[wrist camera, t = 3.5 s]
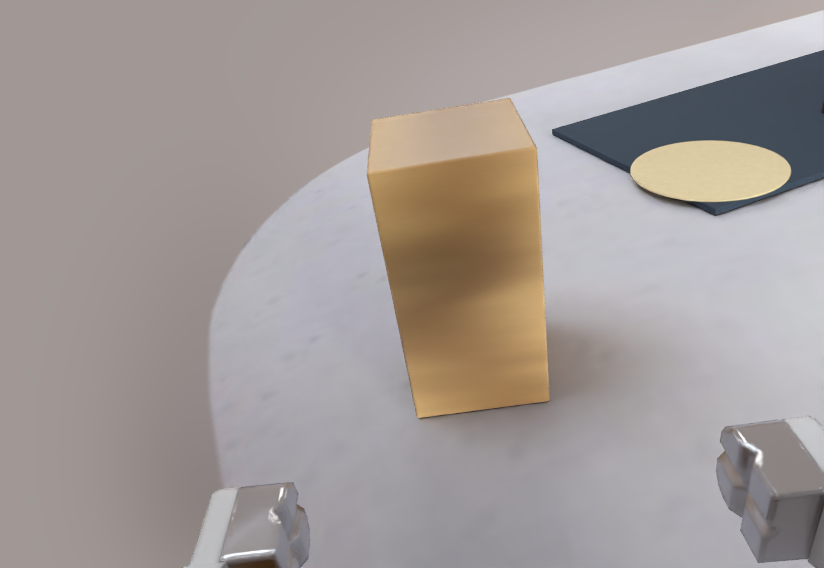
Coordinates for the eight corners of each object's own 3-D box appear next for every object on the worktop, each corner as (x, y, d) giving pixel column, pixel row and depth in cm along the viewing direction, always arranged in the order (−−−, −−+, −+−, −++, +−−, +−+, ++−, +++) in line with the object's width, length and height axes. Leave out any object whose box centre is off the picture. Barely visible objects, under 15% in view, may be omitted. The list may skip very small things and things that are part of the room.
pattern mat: (698, 224, 32) (699, 215, 32) (537, 138, 46) (537, 132, 45) (1068, 94, 38) (1072, 86, 38) (831, 52, 51) (832, 46, 51)
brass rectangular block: (417, 419, 24) (366, 173, 18) (413, 338, 28) (371, 119, 23) (550, 401, 23) (537, 146, 18) (526, 322, 28) (510, 96, 22)
